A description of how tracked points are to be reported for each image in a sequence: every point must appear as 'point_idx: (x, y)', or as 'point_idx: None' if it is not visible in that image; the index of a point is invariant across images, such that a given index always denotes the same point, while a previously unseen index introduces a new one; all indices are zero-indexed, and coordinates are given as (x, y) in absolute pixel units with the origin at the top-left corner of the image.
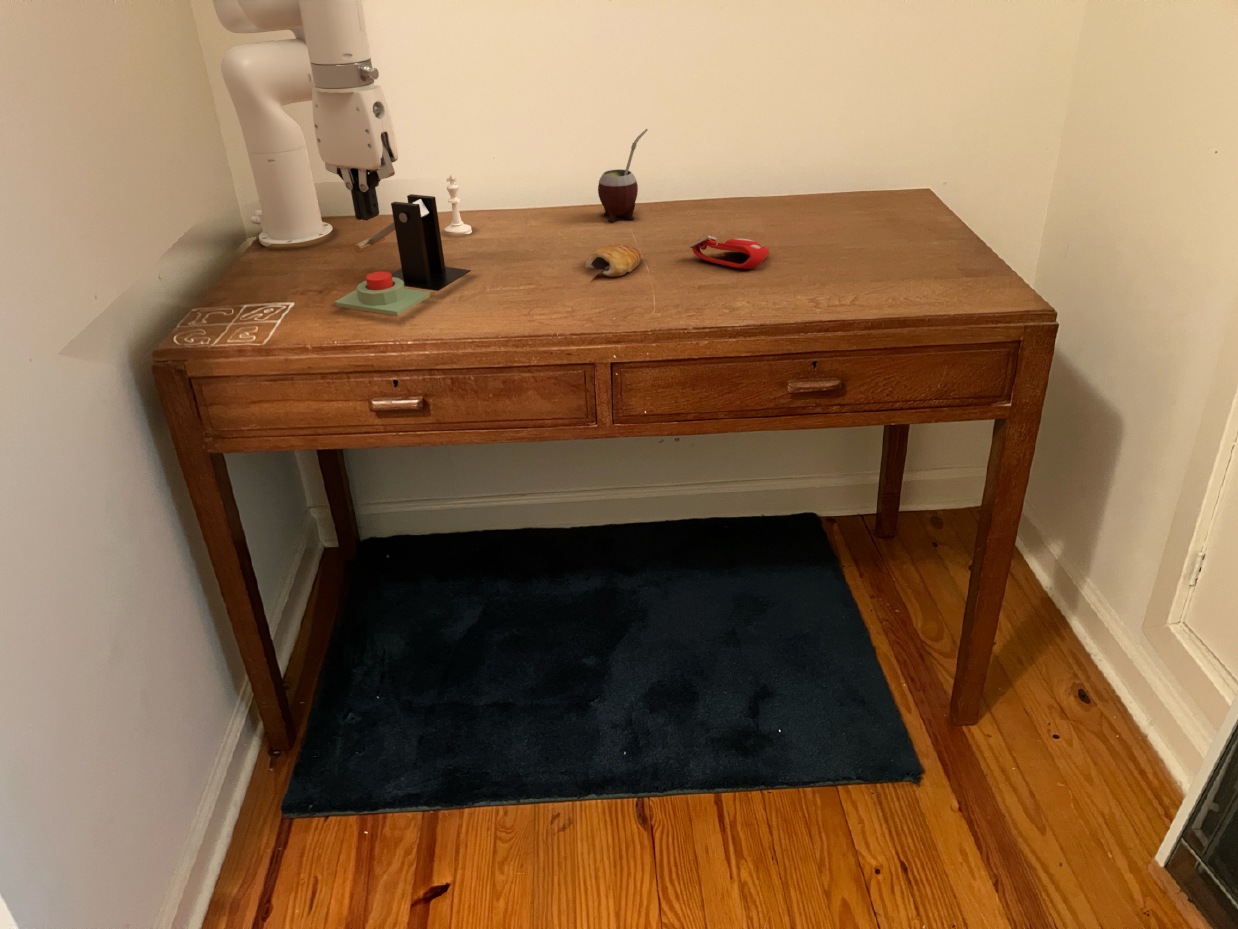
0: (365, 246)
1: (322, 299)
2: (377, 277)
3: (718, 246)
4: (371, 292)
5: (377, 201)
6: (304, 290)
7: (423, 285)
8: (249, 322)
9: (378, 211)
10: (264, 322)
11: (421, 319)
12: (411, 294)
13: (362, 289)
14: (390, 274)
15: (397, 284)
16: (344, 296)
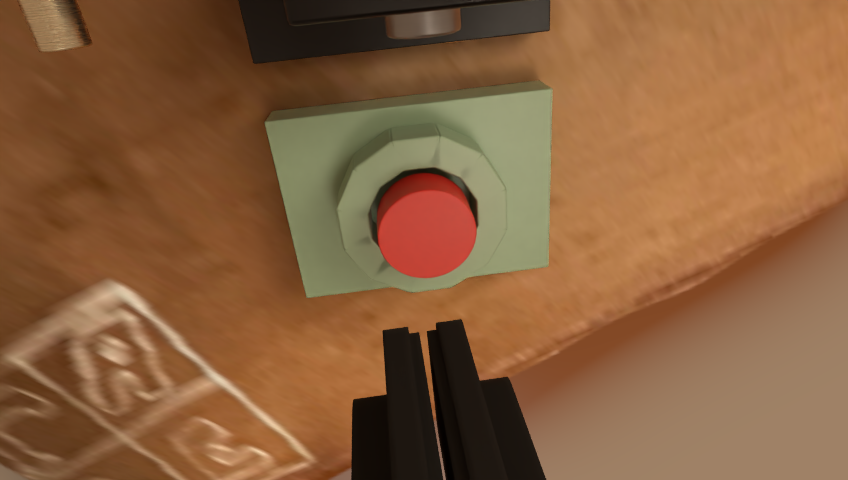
0: (72, 3)
1: (169, 225)
2: (437, 250)
3: None
4: (447, 282)
5: (523, 418)
6: (27, 197)
7: (464, 16)
8: (154, 413)
9: (463, 331)
10: (189, 397)
11: (584, 200)
12: (503, 141)
13: (397, 276)
14: (462, 205)
15: (482, 189)
16: (300, 256)
